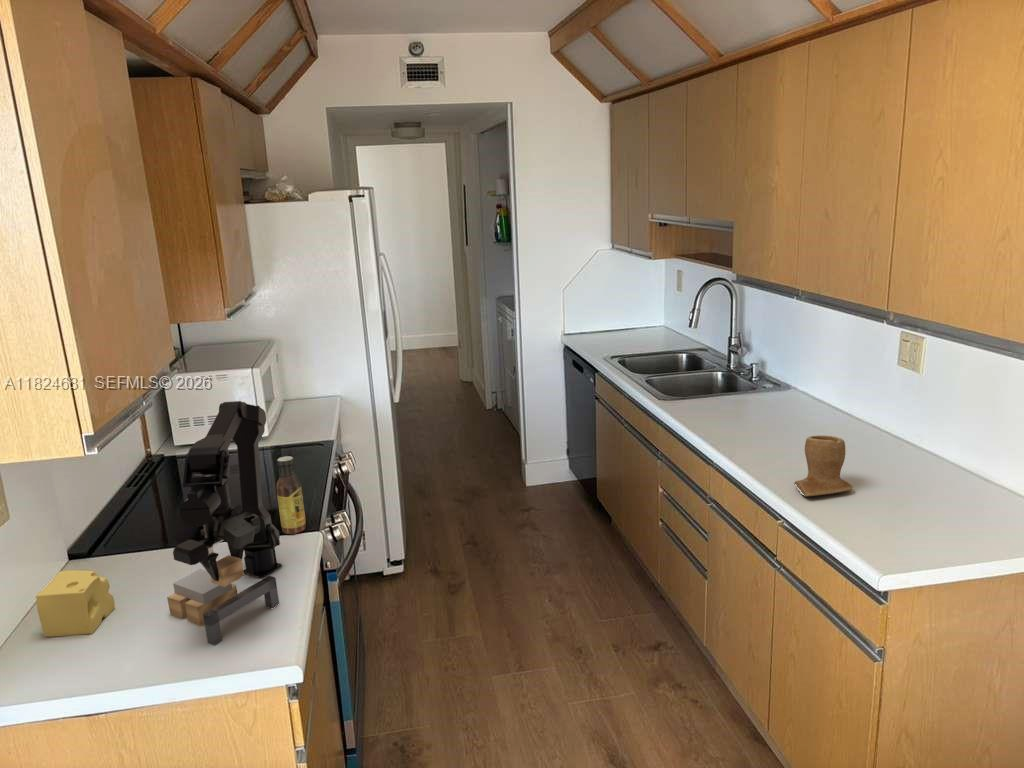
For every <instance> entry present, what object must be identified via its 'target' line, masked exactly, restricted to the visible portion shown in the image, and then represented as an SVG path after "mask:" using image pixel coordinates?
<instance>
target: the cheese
mask: <svg viewBox="0 0 1024 768" xmlns="http://www.w3.org/2000/svg"><path fill="white" fill-rule="evenodd" d="M109 590H110V583H109V580H108V578H106V577H103V576H100V575H99V574H98V573H96V572H95V571H94V570H62V571H61V570H60V571H59V572H57V573H56V575H55V576H54V577H53V578H52V579H51V581H50V582H49V583H48V584H47V585H46V586H45V587H44V588H43V589H42V590H41V591H40V592H39V593H37V594H36V595H35V598H36V599H35V600H36V609H37V613H38V617H39V622H40V625H41V628H42V632H43V634H44V636H45V638H47V637H48V638H50V637H63V636H76V635H78V636H79V635H92V634H94V632H95V631H96V630H97V629H98V628H99V626H100V625H101V623H102V621H103V619H104V618H107V617H109V615H110V614H111V613H112V612H113V611H114V610H115V607H116V606H115V605H116V604H115V603H116V602H115V598H114V596H113V595H112V594H111V593H110V591H109Z"/></svg>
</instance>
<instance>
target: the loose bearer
mask: <svg viewBox="0 0 1024 768" xmlns="http://www.w3.org/2000/svg"><path fill="white" fill-rule="evenodd" d="M216 563H217V568H218V574H219V581H214V580H213V578H212V577H211V582H212V583H214V584H217V585H220V586H223V587H226V586H227V585H229V584H233V583H234V582H237V580H239V579H241V578H242V577H244V576H245V573H244V571H243V570H244V566H243V558H242V559H240V558H237V557H233V556H231V555H230V554H227V555H226V556H224V557H222V558H219V559H218V560H216Z"/></svg>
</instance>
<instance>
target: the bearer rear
mask: <svg viewBox="0 0 1024 768" xmlns="http://www.w3.org/2000/svg"><path fill="white" fill-rule="evenodd" d="M166 598H167V603H168V609H169V614H170V616H171V617H174V618H176V619H180V620H183V619H184V620H185V619H188V618H187V612H186V607H185V603H186V602H188V601H189V600H191V599H189V598H186V597H183V596H181V595H178V594H175V592H173V593H172V594H170V595H168V596H167V597H166ZM184 620H183V621H184Z"/></svg>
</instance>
